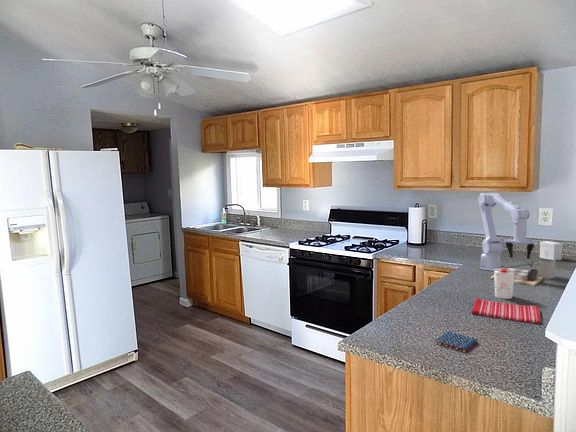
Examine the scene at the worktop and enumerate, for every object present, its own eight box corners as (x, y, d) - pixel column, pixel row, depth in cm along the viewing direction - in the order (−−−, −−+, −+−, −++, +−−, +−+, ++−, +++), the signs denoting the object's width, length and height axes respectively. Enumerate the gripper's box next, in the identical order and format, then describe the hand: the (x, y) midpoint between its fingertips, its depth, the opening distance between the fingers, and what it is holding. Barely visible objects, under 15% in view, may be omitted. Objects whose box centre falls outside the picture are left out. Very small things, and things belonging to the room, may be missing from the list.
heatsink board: (490, 279, 205) (490, 268, 205) (500, 273, 216) (500, 262, 216) (534, 286, 191) (534, 274, 190) (542, 279, 202) (543, 268, 202)
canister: (505, 300, 171) (506, 274, 170) (487, 295, 179) (488, 270, 177) (519, 297, 176) (520, 270, 174) (501, 292, 183) (502, 267, 182)
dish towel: (475, 303, 171) (475, 297, 171) (539, 311, 159) (540, 305, 158) (470, 315, 157) (470, 309, 156) (540, 326, 144) (541, 319, 144)
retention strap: (499, 271, 208) (498, 267, 208) (501, 270, 210) (500, 266, 210) (532, 267, 197) (530, 262, 197) (533, 266, 199) (532, 261, 199)
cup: (554, 279, 201) (555, 262, 200) (531, 277, 207) (532, 260, 206) (555, 276, 207) (556, 259, 206) (533, 274, 213) (533, 257, 212)
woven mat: (447, 335, 138) (447, 329, 138) (478, 344, 131) (479, 338, 130) (433, 344, 131) (433, 339, 131) (465, 354, 124) (465, 348, 123)
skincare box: (562, 260, 243) (562, 243, 242) (553, 260, 241) (554, 244, 240) (547, 256, 253) (547, 240, 252) (539, 257, 251) (539, 241, 250)
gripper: (502, 232, 204) (502, 257, 205) (534, 233, 195) (534, 260, 196) (505, 230, 210) (505, 255, 211) (537, 232, 200) (537, 258, 201)
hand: (519, 257), depth 203 cm, fingers open, 7 cm apart
